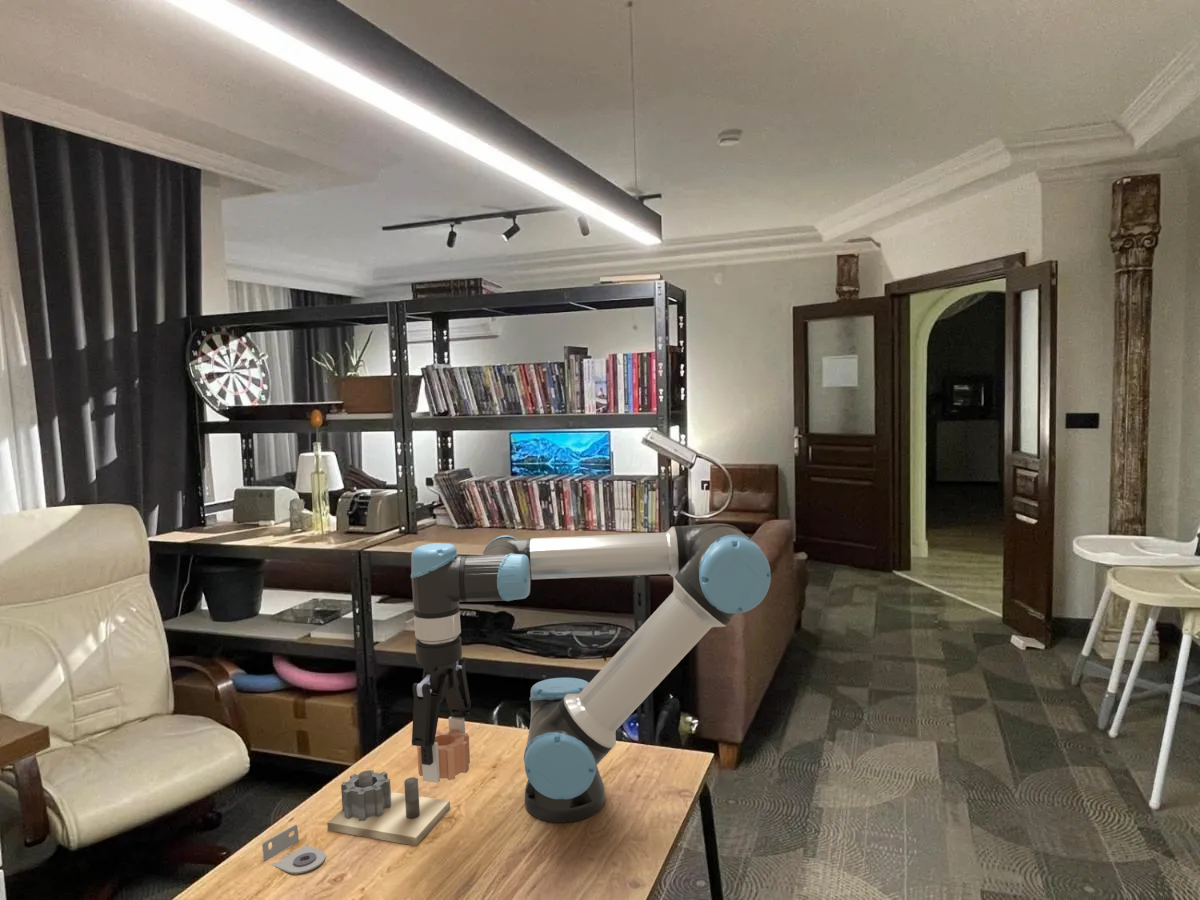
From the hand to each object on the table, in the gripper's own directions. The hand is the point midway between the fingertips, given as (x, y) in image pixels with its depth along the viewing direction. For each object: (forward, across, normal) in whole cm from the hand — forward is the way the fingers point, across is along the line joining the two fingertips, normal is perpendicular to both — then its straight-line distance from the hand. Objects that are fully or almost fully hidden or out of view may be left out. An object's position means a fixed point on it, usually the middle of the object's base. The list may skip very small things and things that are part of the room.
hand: (445, 766), depth 130 cm
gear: (0, 0, 0) cm, 0 cm away
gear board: (+14, -5, -15) cm, 21 cm away
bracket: (+15, +9, -24) cm, 30 cm away
